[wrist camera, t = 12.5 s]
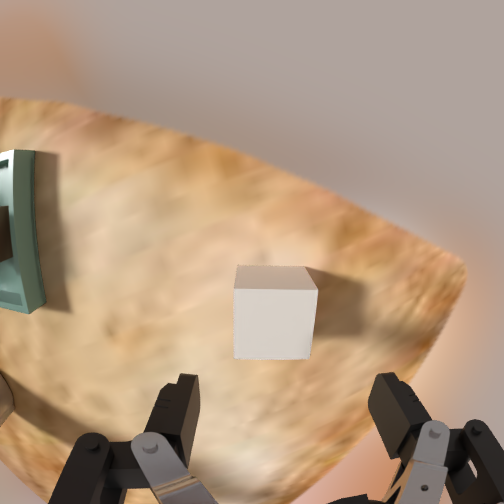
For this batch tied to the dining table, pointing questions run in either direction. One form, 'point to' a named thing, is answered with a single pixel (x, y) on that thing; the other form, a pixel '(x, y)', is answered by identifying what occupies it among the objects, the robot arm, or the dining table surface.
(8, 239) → the walnut block
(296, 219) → the dining table surface
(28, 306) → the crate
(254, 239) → the dining table surface
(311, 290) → the cream box
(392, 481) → the robot arm
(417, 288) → the dining table surface
